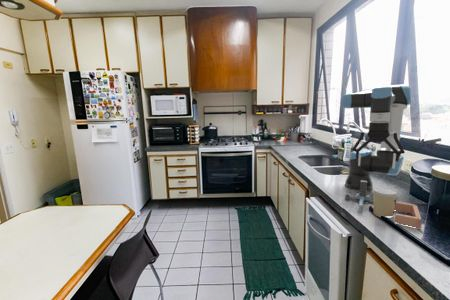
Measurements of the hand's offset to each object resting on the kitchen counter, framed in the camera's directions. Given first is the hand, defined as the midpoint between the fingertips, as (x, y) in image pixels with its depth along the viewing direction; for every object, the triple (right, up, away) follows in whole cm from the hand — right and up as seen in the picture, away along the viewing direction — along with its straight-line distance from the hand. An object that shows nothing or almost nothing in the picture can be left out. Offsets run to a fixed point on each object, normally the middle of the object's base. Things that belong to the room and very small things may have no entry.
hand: (375, 166), depth 107 cm
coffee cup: (+4, -23, +1) cm, 24 cm away
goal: (+11, -24, -4) cm, 26 cm away
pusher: (-1, -21, +10) cm, 23 cm away
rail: (+7, -21, +13) cm, 25 cm away
